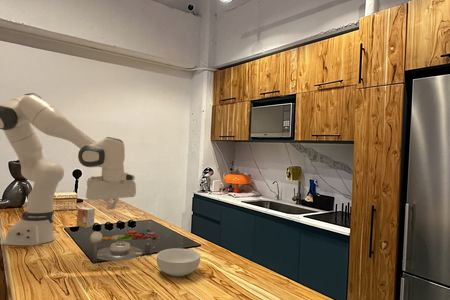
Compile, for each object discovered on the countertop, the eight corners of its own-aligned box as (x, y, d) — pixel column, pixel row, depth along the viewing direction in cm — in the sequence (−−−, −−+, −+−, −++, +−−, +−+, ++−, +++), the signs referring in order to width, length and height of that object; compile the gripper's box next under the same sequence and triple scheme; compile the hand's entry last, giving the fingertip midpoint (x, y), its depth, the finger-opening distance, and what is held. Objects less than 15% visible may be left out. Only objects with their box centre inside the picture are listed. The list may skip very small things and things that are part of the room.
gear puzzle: (102, 248, 148) (103, 239, 148) (91, 240, 161) (91, 232, 161) (161, 239, 168) (161, 231, 168) (147, 232, 181) (148, 225, 181)
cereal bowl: (180, 285, 111) (181, 265, 111) (146, 274, 120) (147, 255, 120) (207, 271, 125) (208, 253, 125) (175, 262, 134) (176, 245, 134)
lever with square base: (87, 268, 122) (89, 233, 122) (89, 263, 127) (91, 229, 127) (100, 268, 123) (101, 233, 123) (101, 263, 128) (103, 229, 128)
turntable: (91, 264, 125) (91, 250, 125) (97, 249, 145) (98, 236, 145) (151, 262, 132) (152, 248, 132) (149, 247, 151) (150, 235, 151)
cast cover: (109, 255, 133) (109, 244, 133) (111, 249, 141) (112, 239, 141) (129, 255, 135) (129, 244, 135) (130, 249, 143) (130, 239, 143)
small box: (76, 226, 185) (77, 208, 185) (83, 224, 190) (84, 206, 190) (86, 228, 182) (87, 209, 182) (94, 226, 187) (95, 208, 187)
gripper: (90, 177, 123) (88, 212, 123) (138, 176, 137) (136, 208, 137) (84, 175, 128) (82, 209, 128) (131, 175, 142) (130, 205, 142)
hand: (111, 208), depth 132 cm, fingers closed
